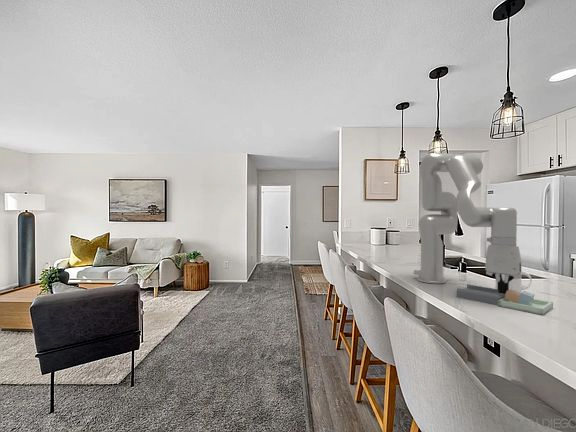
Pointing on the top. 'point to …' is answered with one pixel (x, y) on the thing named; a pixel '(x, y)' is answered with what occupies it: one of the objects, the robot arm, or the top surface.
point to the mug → (517, 282)
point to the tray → (536, 307)
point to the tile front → (526, 298)
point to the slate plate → (480, 294)
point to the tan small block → (512, 295)
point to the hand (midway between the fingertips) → (503, 292)
